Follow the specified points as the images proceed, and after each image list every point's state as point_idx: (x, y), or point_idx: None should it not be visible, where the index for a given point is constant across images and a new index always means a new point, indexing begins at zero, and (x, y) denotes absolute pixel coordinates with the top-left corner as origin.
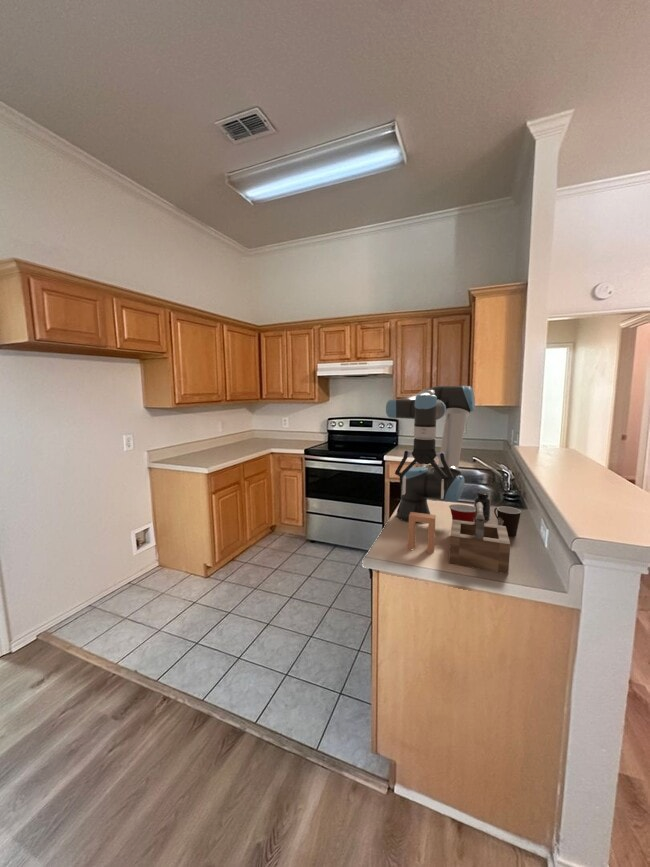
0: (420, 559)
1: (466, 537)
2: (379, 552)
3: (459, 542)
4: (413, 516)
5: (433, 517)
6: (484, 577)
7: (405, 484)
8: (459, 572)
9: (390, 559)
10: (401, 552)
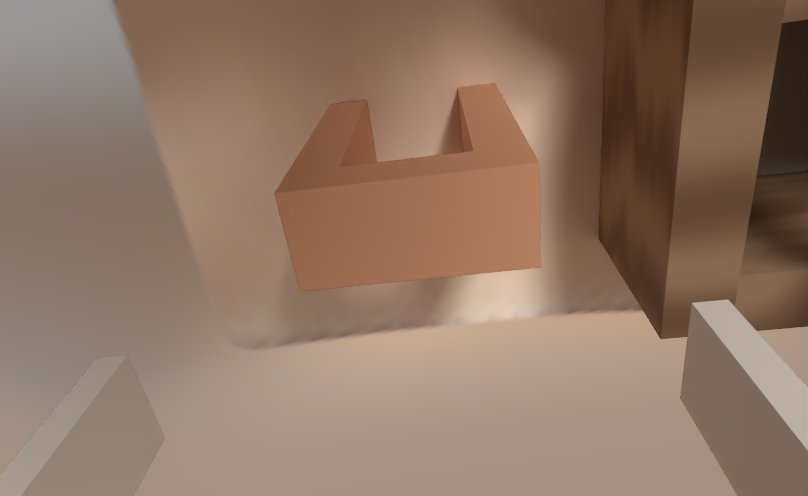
0: None
1: (780, 320)
2: (225, 282)
3: None
4: (343, 284)
5: (528, 241)
6: None
7: (50, 493)
8: None
9: (309, 323)
10: None
